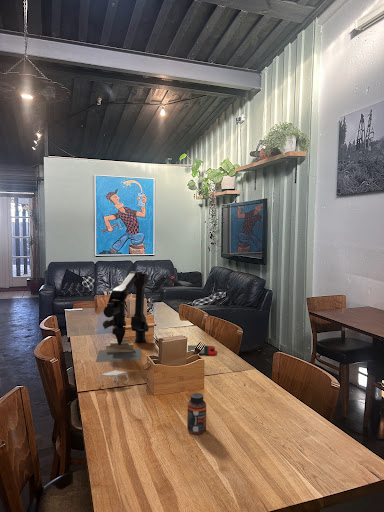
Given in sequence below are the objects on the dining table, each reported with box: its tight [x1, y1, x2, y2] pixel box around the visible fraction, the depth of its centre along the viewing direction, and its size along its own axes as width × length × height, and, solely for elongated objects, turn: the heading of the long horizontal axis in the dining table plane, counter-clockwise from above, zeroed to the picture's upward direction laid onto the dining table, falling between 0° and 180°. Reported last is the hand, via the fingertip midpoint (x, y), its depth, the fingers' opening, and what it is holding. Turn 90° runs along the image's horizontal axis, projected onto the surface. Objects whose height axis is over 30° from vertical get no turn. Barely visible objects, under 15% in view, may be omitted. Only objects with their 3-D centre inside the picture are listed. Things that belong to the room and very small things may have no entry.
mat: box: [95, 348, 142, 363], centre depth 188 cm, size 18×22×1 cm
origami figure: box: [96, 369, 130, 388], centre depth 152 cm, size 12×8×5 cm
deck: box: [109, 338, 129, 348], centre depth 191 cm, size 6×9×2 cm, turn 99°
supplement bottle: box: [186, 392, 207, 435], centre depth 116 cm, size 6×6×11 cm
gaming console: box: [188, 345, 216, 357], centre depth 193 cm, size 29×4×10 cm
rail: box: [105, 342, 134, 353], centre depth 194 cm, size 3×14×4 cm, turn 99°
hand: (119, 343), depth 191 cm, fingers closed on deck, 6 cm apart
